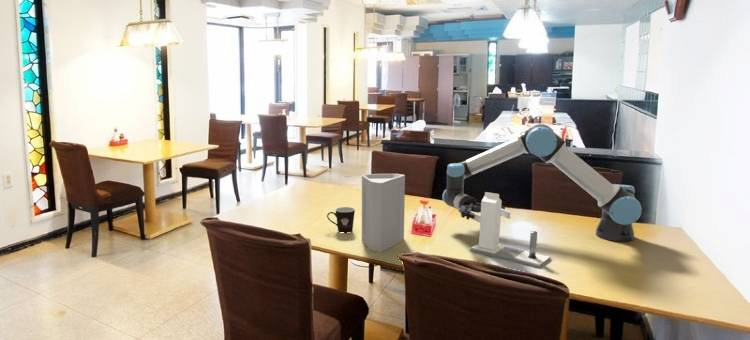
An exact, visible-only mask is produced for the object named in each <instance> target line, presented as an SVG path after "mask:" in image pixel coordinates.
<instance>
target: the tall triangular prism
mask: <svg viewBox="0 0 750 340" xmlns="http://www.w3.org/2000/svg"><path fill="white" fill-rule="evenodd" d="M405 187H406V175H405V174H400V173H367V174H366V173H365V174H362V175H361V241H362V242H363V243H364V244H365V246H367V248H369V250H370V251H373V252H378V253H382V252H384V251H386V250H388V249H389V248H391V247H393V246H395V245H398V243H401V242H402V241H404V239H405V200H406V199H405V197H406V196H405V195H406V193H405V192H406V188H405Z"/></svg>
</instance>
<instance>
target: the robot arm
mask: <svg viewBox="0 0 750 340" xmlns="http://www.w3.org/2000/svg"><path fill="white" fill-rule="evenodd" d="M517 135H518V136H517V137H515V138H513V139H510V140H508V141H506V142H503V143H501V144H499V145H497V146H494V147H492V148H490V149H488V150H485V151H484V152H481V153H478V154H477V155H475V156H472V157H470V158H467V159H466V160H463V161H461V162H457V163H456V162H454V163H449V164H447V169H446V188H445V189H444V190H443V193H442V196H441V198H442V201H443V203H445V204H446V205H447V206H449V207H452V208H454V209H456V210H458V212H459V213H460V216H461V218H466V220H470V219H472V220H474V221H476V222H477V223H480V222H481V214H478V213H481V202H478V200H477V198H475V197H472V196H471V195H469V194H466V193H464V189H465V187H464V186H465V185H464V184H465V179H466V178H469V177H471V176H473V175H475V174H478V173H479V172H480V173H481V172H483V171H485V170H487V169H489V168H492V167H494V166H497V165H500V164H502V163H503V162H506V161H508V160H510V159H511V160H512V159H513V158H516V157H518V156H521V155H522V154H532V155H534V156H536V157H537V158H539V159H541V160H542V161H543V162H544V163H545V164H549V163H551V164H553V165H554V166H555V167H556V168H557V169H559V170H560V171H561V172H562V173H564V174H565V175H566V176H567V177H568V178H569V179H571V180H572V181H573V182H574V183H576V184H577V185H578V186H579V187H580V188H582V189H583V190H584V191H586V192H587V193H588V194H589V195H591V197H592V198H594V199H595V200H596V201H597V206H598V207H599V208H600V209H601V218H600V219H599V222H598V224H597V226H596V230H595V235H596V236H597V237H599V238H601V239H604V240H608V241H613V242H621V243H622V242H623V243H625V242H631V241H633V240H634V239H635V231H634V227H633V223H636V222H637V221H638V220H639V219H640V217H641V215H642V211H643V209H642V205H641V202H640V201H639V200H638V199H637V198H636V197H635V193H636V191H635V187H634V186H633V185H628V184H619V183H618V184H616V183H611V182H610V181H609V180H608V179H606V178H605V177H604V176H603V175H602V174H600V173H599V172H598V171H596V170H595V169H594V168H592V166H590V165H589V164H588V163H587V162H585V161H584V160H583V159H582V158H580V157H579V156H578V155H576V154H575V153H574V152H573V151H572V150H570V149H569V148H568V147H567V146H566V145H567V143H566V140H564V139H563V138H562V137H560V136H559V135H558V134H557V133H556V132H554V129H552V128H551V127H550V126H549V125H546V124H542V123H540V124H536V125H534V126H531V127H530V128H529V129H526V130H525V131H522V132H520V133H519V134H517ZM501 217H503V218H505V219H509V220H510V219H511V211H509V210H506V206H503V205H501Z"/></svg>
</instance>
